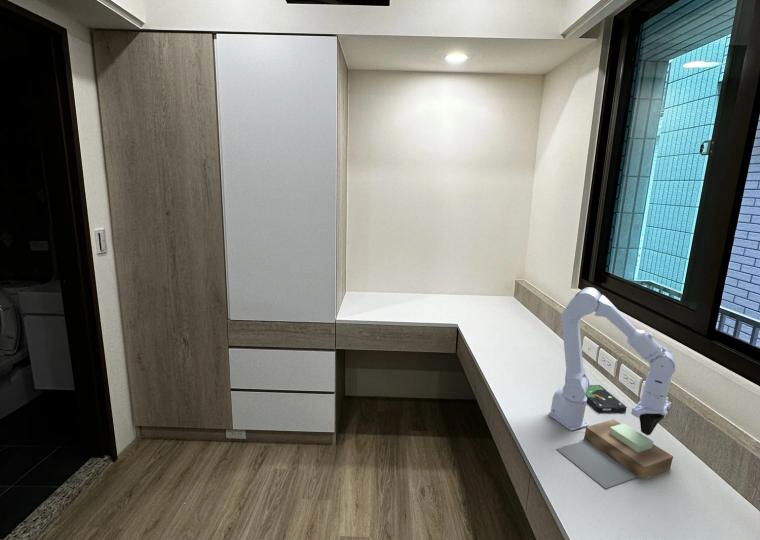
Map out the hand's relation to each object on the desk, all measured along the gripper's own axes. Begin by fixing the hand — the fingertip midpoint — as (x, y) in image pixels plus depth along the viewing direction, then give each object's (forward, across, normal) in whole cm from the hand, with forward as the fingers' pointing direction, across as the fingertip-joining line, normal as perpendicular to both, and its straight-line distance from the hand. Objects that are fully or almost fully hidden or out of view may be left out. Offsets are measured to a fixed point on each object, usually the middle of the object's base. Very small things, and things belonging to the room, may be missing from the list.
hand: (645, 433), depth 119 cm
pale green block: (+1, -7, 0) cm, 7 cm away
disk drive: (+6, +10, +23) cm, 26 cm away
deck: (+5, -8, 0) cm, 9 cm away
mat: (+5, -20, 0) cm, 20 cm away
